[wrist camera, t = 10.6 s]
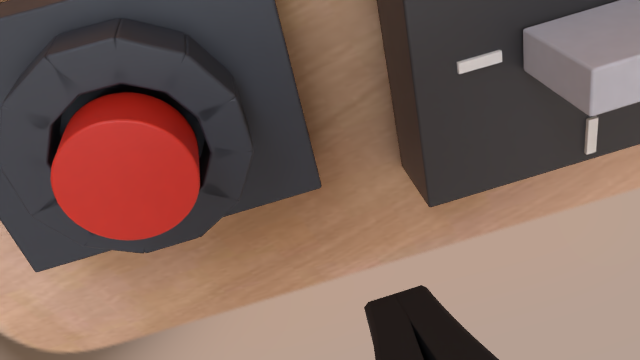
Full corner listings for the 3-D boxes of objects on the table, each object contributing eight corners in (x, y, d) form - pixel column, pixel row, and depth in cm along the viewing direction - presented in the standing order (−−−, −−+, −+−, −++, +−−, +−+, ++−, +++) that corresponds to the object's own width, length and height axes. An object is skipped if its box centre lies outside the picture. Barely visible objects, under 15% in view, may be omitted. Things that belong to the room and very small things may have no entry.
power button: (96, 220, 17) (88, 257, 15) (37, 112, 15) (21, 144, 13) (214, 185, 17) (217, 218, 15) (172, 75, 15) (172, 101, 13)
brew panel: (401, 166, 22) (431, 211, 20) (359, -110, 17) (392, -99, 14) (680, 83, 23) (744, 116, 20) (727, -208, 18) (823, -214, 15)
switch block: (47, 234, 21) (22, 312, 17) (-83, 24, 16) (-150, 74, 13) (310, 157, 21) (334, 218, 18) (252, -66, 17) (270, -40, 14)
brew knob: (522, 70, 18) (595, 122, 15) (521, 28, 17) (598, 72, 14) (670, 26, 18) (772, 67, 15) (675, -18, 17) (785, 16, 14)
